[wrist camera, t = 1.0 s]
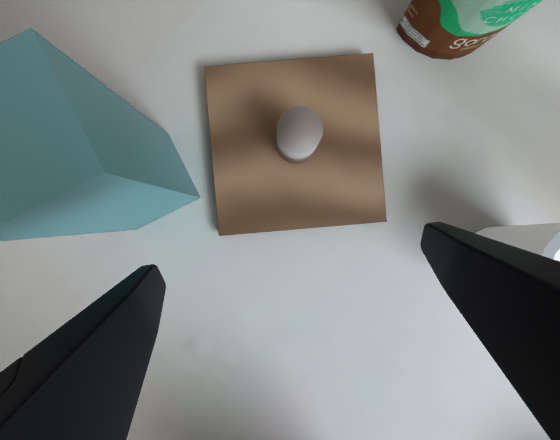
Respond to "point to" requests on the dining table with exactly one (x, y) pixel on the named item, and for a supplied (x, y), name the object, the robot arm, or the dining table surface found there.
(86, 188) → the teal square pillar
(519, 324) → the robot arm
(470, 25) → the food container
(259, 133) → the stub base
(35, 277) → the dining table surface
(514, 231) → the white short cylinder
